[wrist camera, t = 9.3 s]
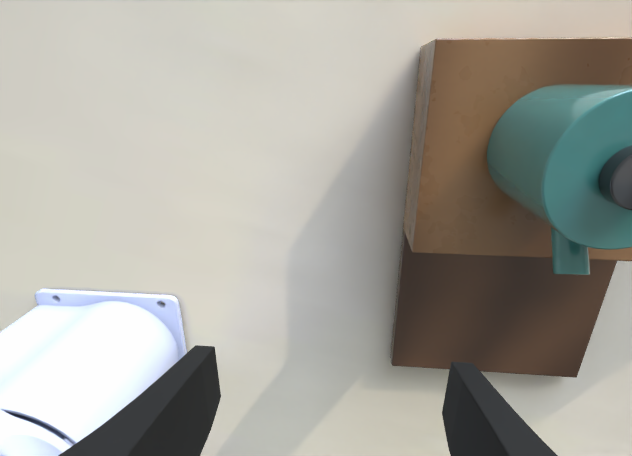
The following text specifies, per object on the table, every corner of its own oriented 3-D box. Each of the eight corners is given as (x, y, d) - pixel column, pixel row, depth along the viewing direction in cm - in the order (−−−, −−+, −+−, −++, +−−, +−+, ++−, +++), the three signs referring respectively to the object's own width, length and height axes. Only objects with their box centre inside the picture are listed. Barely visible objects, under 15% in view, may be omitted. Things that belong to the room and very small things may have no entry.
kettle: (498, 84, 14) (577, 85, 9) (629, 84, 14) (787, 85, 9) (470, 239, 17) (522, 306, 12) (581, 243, 16) (683, 314, 11)
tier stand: (390, 357, 23) (396, 396, 20) (420, 46, 17) (435, 38, 14) (569, 368, 23) (602, 411, 20) (677, 44, 16) (752, 36, 13)
